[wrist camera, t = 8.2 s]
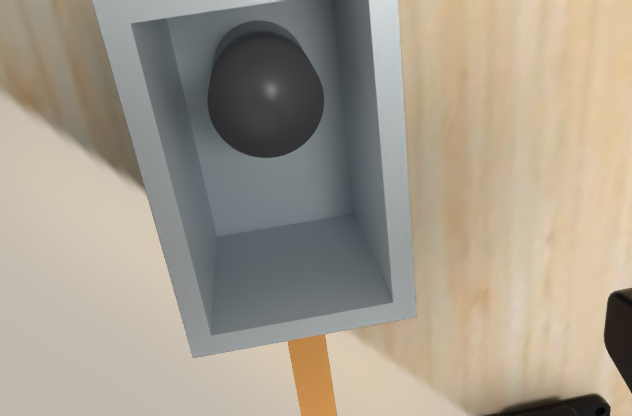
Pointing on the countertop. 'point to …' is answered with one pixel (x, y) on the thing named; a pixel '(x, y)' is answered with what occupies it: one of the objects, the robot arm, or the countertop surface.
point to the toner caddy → (272, 179)
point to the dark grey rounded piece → (264, 91)
